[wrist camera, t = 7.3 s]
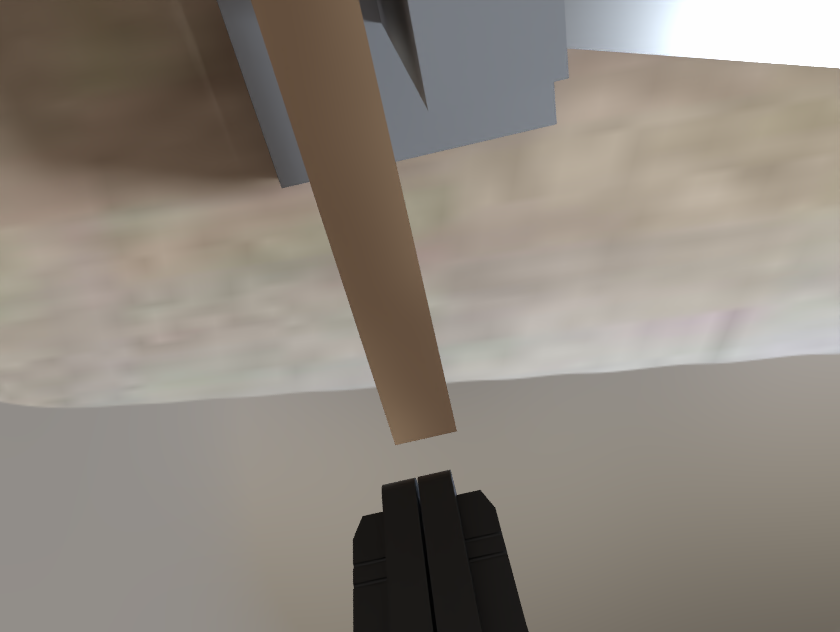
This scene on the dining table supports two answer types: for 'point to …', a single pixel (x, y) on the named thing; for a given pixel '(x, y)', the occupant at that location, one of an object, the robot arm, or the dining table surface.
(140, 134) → the dining table surface
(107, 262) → the dining table surface
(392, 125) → the display stand
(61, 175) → the dining table surface
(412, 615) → the robot arm
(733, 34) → the play button award
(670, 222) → the dining table surface
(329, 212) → the picture frame
